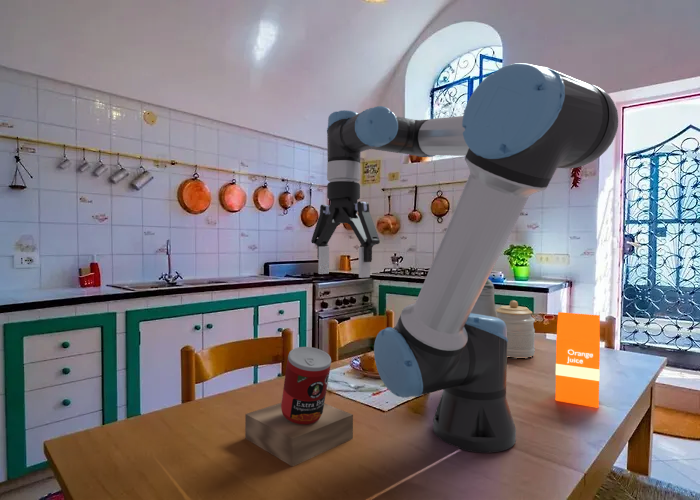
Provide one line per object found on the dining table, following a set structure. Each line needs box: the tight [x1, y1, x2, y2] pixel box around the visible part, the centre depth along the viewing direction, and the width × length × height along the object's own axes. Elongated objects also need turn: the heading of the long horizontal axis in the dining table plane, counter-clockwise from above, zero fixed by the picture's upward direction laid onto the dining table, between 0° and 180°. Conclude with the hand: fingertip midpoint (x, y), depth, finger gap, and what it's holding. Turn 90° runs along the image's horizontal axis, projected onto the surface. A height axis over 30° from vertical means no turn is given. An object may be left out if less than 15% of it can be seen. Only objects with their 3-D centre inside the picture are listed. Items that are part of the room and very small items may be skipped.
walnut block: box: [244, 402, 354, 467], centre depth 79 cm, size 14×14×5 cm
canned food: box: [280, 346, 332, 424], centre depth 76 cm, size 8×8×11 cm
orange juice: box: [554, 311, 601, 409], centre depth 100 cm, size 8×9×20 cm
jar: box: [495, 300, 536, 357], centre depth 140 cm, size 13×13×18 cm
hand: (343, 275), depth 98 cm, fingers open, 13 cm apart
